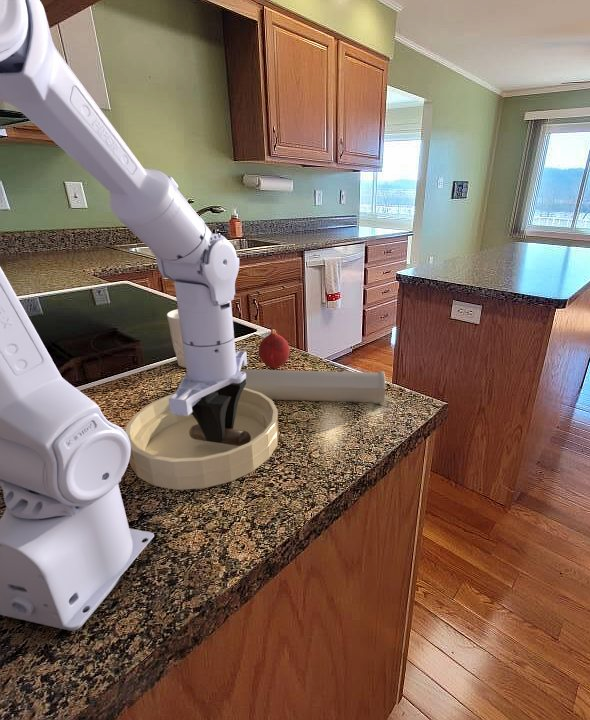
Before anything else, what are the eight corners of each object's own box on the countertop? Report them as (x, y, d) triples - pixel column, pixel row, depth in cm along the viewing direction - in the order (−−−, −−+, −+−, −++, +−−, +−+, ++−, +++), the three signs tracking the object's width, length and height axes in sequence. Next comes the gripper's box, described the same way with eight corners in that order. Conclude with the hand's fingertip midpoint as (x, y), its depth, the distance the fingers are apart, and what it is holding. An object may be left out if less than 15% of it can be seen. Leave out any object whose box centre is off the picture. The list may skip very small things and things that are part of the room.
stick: (253, 441, 53) (252, 428, 52) (247, 450, 51) (246, 437, 50) (195, 433, 54) (193, 420, 53) (186, 441, 52) (184, 428, 51)
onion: (295, 371, 76) (294, 332, 73) (266, 377, 73) (264, 337, 70) (283, 360, 81) (281, 323, 78) (255, 366, 78) (252, 327, 75)
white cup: (181, 354, 81) (174, 306, 78) (221, 354, 82) (216, 307, 78) (168, 370, 74) (160, 318, 70) (211, 369, 75) (206, 319, 71)
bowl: (242, 505, 44) (239, 472, 42) (95, 480, 46) (86, 448, 44) (296, 420, 60) (295, 394, 59) (186, 405, 63) (182, 379, 61)
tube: (225, 384, 61) (385, 388, 62) (234, 361, 65) (384, 365, 66) (231, 407, 65) (383, 410, 66) (239, 384, 69) (382, 387, 70)
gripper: (207, 365, 39) (220, 475, 45) (265, 323, 53) (270, 411, 58) (143, 358, 40) (163, 466, 46) (216, 318, 54) (225, 405, 59)
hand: (219, 435), depth 52 cm, fingers closed on stick, 2 cm apart
